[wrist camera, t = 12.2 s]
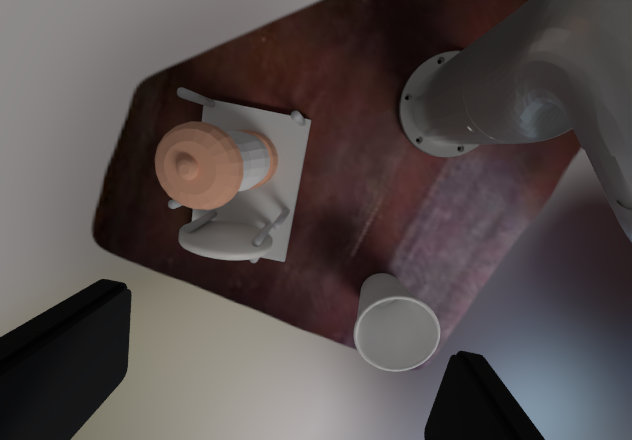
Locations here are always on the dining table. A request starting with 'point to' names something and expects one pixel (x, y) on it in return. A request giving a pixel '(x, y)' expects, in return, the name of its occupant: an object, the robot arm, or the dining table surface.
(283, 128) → the dish rack
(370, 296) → the cup
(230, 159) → the salt shaker
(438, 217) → the dining table surface
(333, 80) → the dining table surface
